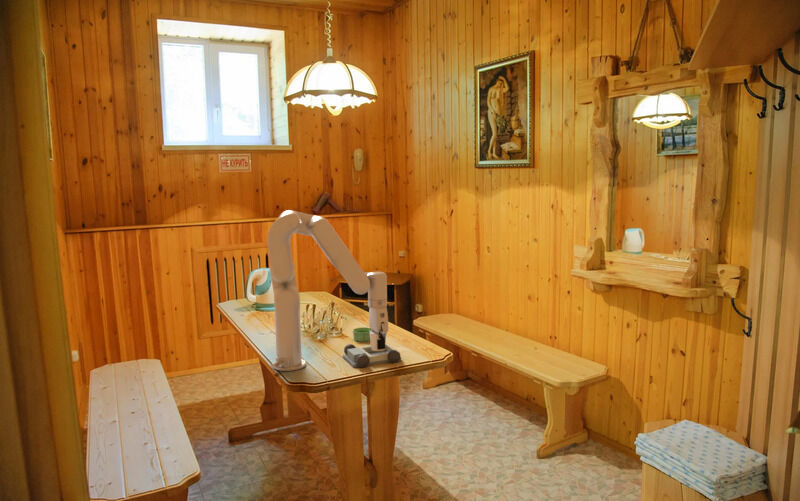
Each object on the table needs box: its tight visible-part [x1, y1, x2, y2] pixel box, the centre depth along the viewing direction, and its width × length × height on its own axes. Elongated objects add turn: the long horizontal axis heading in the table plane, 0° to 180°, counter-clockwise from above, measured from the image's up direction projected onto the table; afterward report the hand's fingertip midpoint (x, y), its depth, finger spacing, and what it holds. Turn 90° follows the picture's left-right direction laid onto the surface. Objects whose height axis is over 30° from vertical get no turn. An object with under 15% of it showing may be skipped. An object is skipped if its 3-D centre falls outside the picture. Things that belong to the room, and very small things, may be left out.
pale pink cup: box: [370, 330, 387, 351], centre depth 223 cm, size 7×7×7 cm
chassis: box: [342, 343, 402, 369], centre depth 222 cm, size 20×17×5 cm
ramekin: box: [352, 326, 371, 343], centre depth 250 cm, size 9×9×4 cm
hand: (378, 346), depth 223 cm, fingers closed on pale pink cup, 6 cm apart
